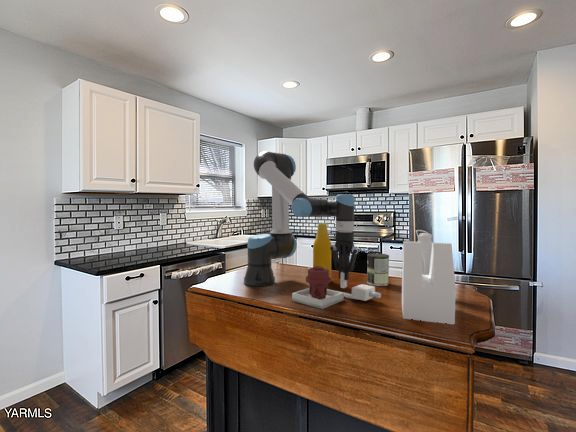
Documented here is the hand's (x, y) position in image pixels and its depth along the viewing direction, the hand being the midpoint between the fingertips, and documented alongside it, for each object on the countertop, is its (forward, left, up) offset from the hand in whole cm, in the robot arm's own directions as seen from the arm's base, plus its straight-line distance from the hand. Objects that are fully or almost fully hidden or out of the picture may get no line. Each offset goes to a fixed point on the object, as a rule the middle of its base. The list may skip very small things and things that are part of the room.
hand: (343, 287), depth 128 cm
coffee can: (+1, +30, -4) cm, 30 cm away
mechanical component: (-4, -12, -3) cm, 13 cm away
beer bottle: (-21, +14, -4) cm, 26 cm away
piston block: (+11, 0, -2) cm, 11 cm away
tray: (-4, -13, -4) cm, 14 cm away
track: (+1, 0, -4) cm, 4 cm away
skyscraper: (+24, +27, -4) cm, 36 cm away
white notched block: (+32, +3, -4) cm, 32 cm away
